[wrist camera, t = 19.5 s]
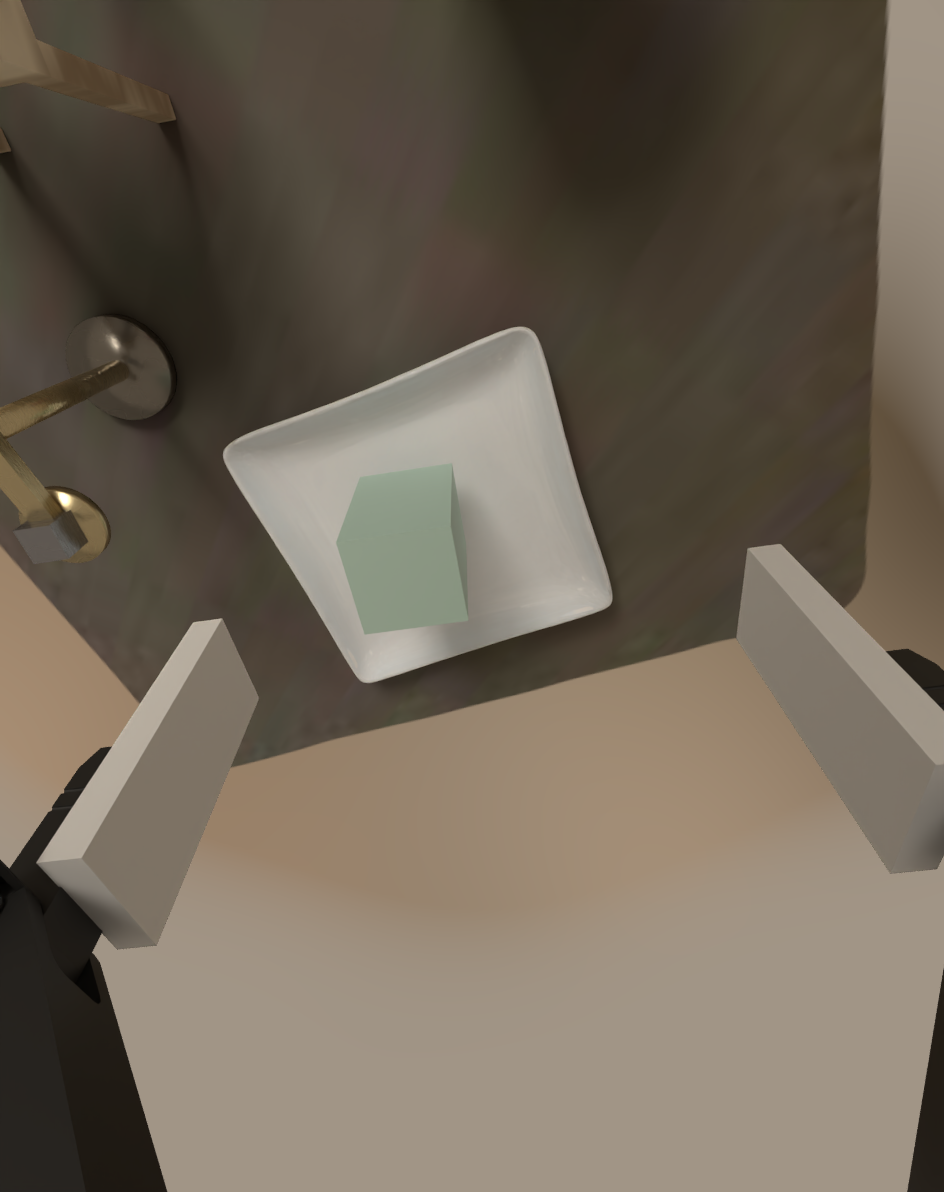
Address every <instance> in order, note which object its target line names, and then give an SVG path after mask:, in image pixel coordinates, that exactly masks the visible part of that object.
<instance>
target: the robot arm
mask: <svg viewBox="0 0 944 1192" xmlns="http://www.w3.org/2000/svg"><path fill="white" fill-rule="evenodd" d="M736 639H737V641H738V642H739V644H740V645H741V647H742V648H743V650H744V651H745V653H746V654H747V656H748V657H749V659H750V660H751V662H752V663H753V665H754V666H755V668H756V670H757V671H758V673H759V674H760V675H761V677H762V679H763V680H764V681H765V683H766V685H767V686H768V688H769V689H770V691H771V692H772V694H773V695H774V697H775V698H776V700H777V701H778V703H779V705H780V706H781V708H782V709H783V711H784V712H785V714H786V715H787V717H788V718H789V720H790V721H791V723H792V724H793V726H794V728H795V729H796V731H797V732H798V734H799V735H800V737H801V738H802V740H803V741H804V743H805V744H806V746H807V747H808V749H809V750H810V752H811V753H812V755H813V757H814V758H815V760H816V761H817V763H818V764H819V766H820V767H821V769H822V770H823V772H824V773H825V775H826V776H827V778H828V779H829V781H830V782H831V784H832V785H833V787H834V789H835V790H836V791H837V793H838V795H839V796H840V798H841V799H842V801H843V802H844V804H845V805H846V807H847V808H848V810H849V811H850V813H851V814H852V816H853V818H854V819H855V821H856V822H857V824H858V825H859V827H860V828H861V830H862V831H863V833H864V834H865V836H866V837H867V839H868V840H869V842H870V843H871V845H872V847H873V848H874V850H875V851H876V853H877V854H878V856H879V857H880V859H881V860H882V862H883V863H884V865H885V866H886V868H887V869H888V870H889V872H890V874H892V873H902V872H913V871H923V870H933V869H937V868H938V866H939V863H940V862H941V860H942V858H943V856H944V671H943V670H942V669H941V668H940V667H939V666H938V665H937V664H935V663H933V662H932V661H930V660H928V659H926V658H924V657H922V656H920V655H919V654H916V653H915V652H913V651H911V650H909V649H901V650H893V651H885V650H884V649H883V648H882V647H881V646H880V645H879V644H878V643H877V642H876V641H875V640H874V639H873V638H872V637H871V636H870V635H869V634H868V633H867V632H866V631H865V630H864V629H863V628H862V627H861V626H860V625H859V624H858V623H857V622H856V621H855V620H854V619H853V618H852V617H851V616H850V615H849V614H848V613H847V612H846V611H845V610H844V608H843V607H842V606H841V605H840V604H839V603H838V602H837V601H836V600H835V599H834V598H833V597H832V596H831V595H830V594H829V593H828V592H827V591H826V590H825V589H824V588H823V587H822V586H821V585H820V584H819V583H818V582H817V581H816V580H815V579H814V578H813V577H812V576H811V575H810V574H809V573H808V572H807V571H806V570H805V569H804V568H803V567H802V566H801V565H800V564H799V563H798V561H797V560H796V559H795V558H794V557H793V556H792V555H791V554H790V553H789V552H788V551H787V550H786V549H785V548H784V547H783V546H782V545H781V544H776V545H768V546H761V547H753V548H748V550H747V558H746V566H745V574H744V582H743V590H742V598H741V605H740V613H739V621H738V629H737V637H736ZM258 700H259V697H258V695H257V693H256V690H255V688H254V686H253V684H252V682H251V680H250V678H249V675H248V673H247V671H246V669H245V667H244V665H243V662H242V660H241V658H240V656H239V654H238V652H237V649H236V647H235V645H234V643H233V641H232V639H231V636H230V634H229V632H228V630H227V628H226V626H225V624H224V621H223V619H215V620H208V621H200V622H193V624H192V625H191V627H190V628H189V630H188V631H187V633H186V634H185V636H184V637H183V639H182V640H181V642H180V644H179V645H178V647H177V648H176V650H175V651H174V653H173V654H172V656H171V657H170V659H169V660H168V662H167V663H166V665H165V667H164V668H163V670H162V671H161V673H160V674H159V676H158V677H157V679H156V680H155V682H154V683H153V685H152V686H151V688H150V689H149V691H148V693H147V694H146V696H145V697H144V699H143V700H142V702H141V703H140V705H139V706H138V708H137V710H136V711H135V713H134V714H133V715H132V717H131V719H130V720H129V722H128V723H127V725H126V726H125V728H124V729H123V731H122V732H121V734H120V735H119V737H118V738H117V740H116V742H115V743H114V745H113V746H112V747H105V748H100V749H99V750H98V751H97V752H96V753H95V754H94V755H93V756H92V757H90V758H89V759H88V760H87V761H86V762H85V763H84V764H83V765H81V766H80V767H79V769H78V770H77V771H76V773H75V774H74V776H73V777H72V779H71V780H70V782H69V783H68V784H67V786H66V787H65V789H64V793H63V794H61V795H60V796H59V797H58V799H57V800H56V802H55V803H54V805H53V807H52V811H50V812H48V814H47V815H46V816H45V818H44V819H43V821H42V822H41V824H40V825H39V827H38V828H37V829H36V831H35V832H34V834H33V836H32V837H31V838H30V840H29V841H28V843H27V844H26V845H25V847H24V848H23V850H22V851H21V853H20V854H19V856H18V857H17V858H16V860H15V862H14V863H13V864H12V866H11V867H10V869H9V868H8V867H7V866H6V865H5V864H4V863H3V862H2V861H1V860H0V1192H167V1189H166V1186H165V1182H164V1179H163V1176H162V1172H161V1169H160V1165H159V1162H158V1159H157V1155H156V1152H155V1148H154V1145H153V1142H152V1138H151V1135H150V1132H149V1128H148V1125H147V1121H146V1118H145V1114H144V1111H143V1108H142V1104H141V1101H140V1098H139V1094H138V1091H137V1087H136V1084H135V1080H134V1077H133V1073H132V1070H131V1067H130V1064H129V1060H128V1057H127V1053H126V1050H125V1047H124V1043H123V1039H122V1036H121V1033H120V1029H119V1026H118V1022H117V1019H116V1016H115V1012H114V1009H113V1005H112V1002H111V999H110V995H109V992H108V988H107V985H106V982H105V978H104V975H103V971H102V968H101V965H100V962H99V961H98V959H97V958H96V957H95V955H94V954H93V953H92V951H93V949H94V947H95V945H96V943H97V941H98V939H99V937H100V935H101V933H102V934H103V935H104V936H105V937H106V938H107V939H108V940H109V941H110V942H111V943H112V944H113V945H114V947H115V948H116V949H127V948H137V947H147V946H156V945H157V943H158V941H159V938H160V936H161V933H162V931H163V929H164V926H165V924H166V921H167V919H168V916H169V914H170V912H171V909H172V907H173V904H174V902H175V899H176V897H177V895H178V892H179V890H180V888H181V885H182V883H183V880H184V878H185V875H186V873H187V871H188V868H189V866H190V863H191V861H192V859H193V856H194V854H195V851H196V849H197V846H198V844H199V841H200V839H201V837H202V835H203V832H204V830H205V827H206V825H207V822H208V820H209V818H210V815H211V813H212V810H213V808H214V806H215V803H216V801H217V798H218V796H219V794H220V791H221V789H222V786H223V784H224V782H225V779H226V777H227V774H228V772H229V769H230V767H231V765H232V762H233V760H234V757H235V755H236V753H237V750H238V748H239V745H240V743H241V741H242V738H243V736H244V733H245V731H246V728H247V726H248V724H249V721H250V719H251V716H252V714H253V712H254V709H255V707H256V704H257V702H258ZM907 1192H944V970H943V976H942V982H941V988H940V994H939V1001H938V1007H937V1013H936V1019H935V1025H934V1031H933V1037H932V1044H931V1049H930V1055H929V1062H928V1068H927V1074H926V1080H925V1086H924V1093H923V1099H922V1105H921V1111H920V1117H919V1123H918V1129H917V1135H916V1142H915V1147H914V1154H913V1160H912V1166H911V1172H910V1179H909V1184H908V1191H907Z"/></svg>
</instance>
